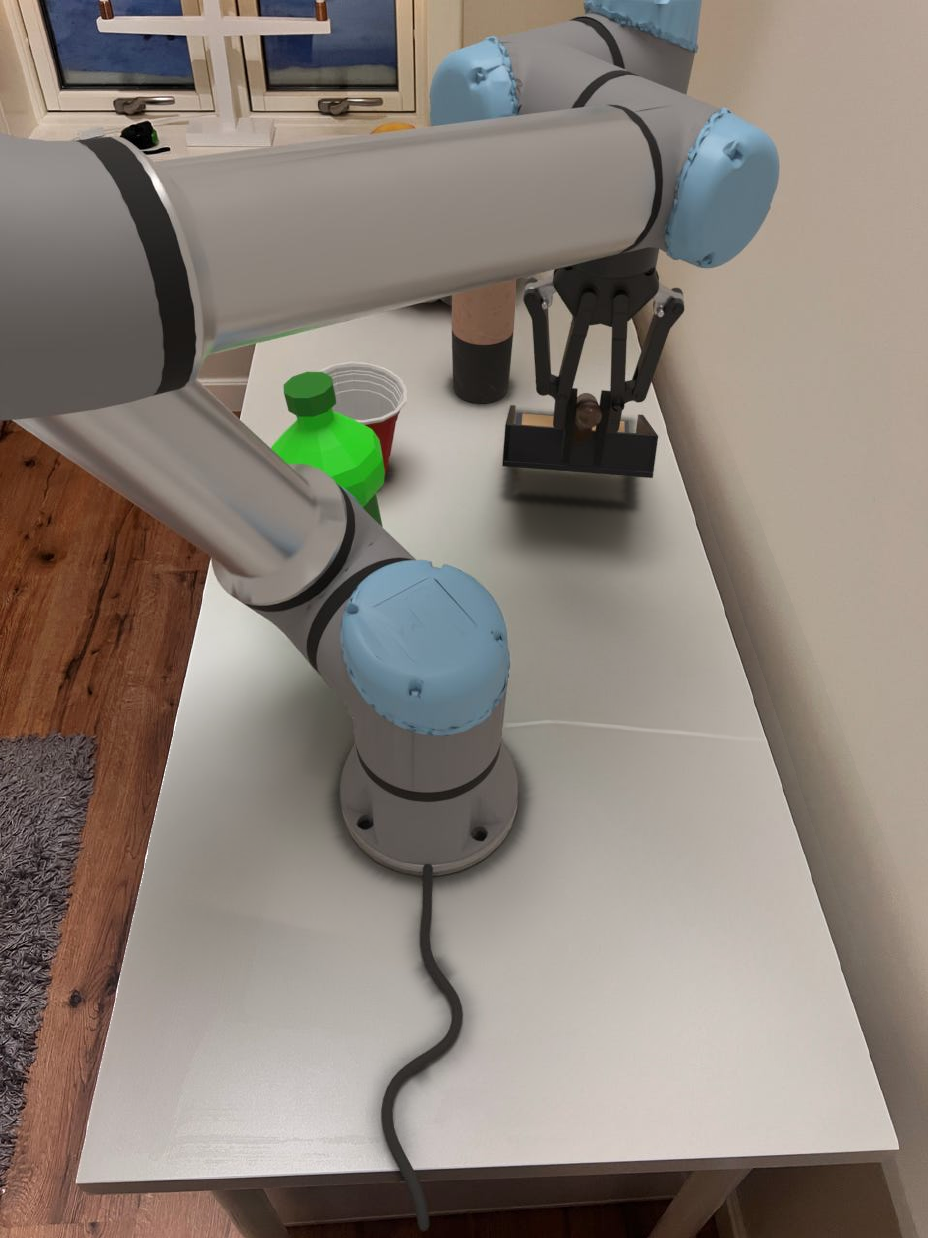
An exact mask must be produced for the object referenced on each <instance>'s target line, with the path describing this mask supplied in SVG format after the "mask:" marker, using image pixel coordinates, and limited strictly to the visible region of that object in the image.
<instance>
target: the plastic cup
mask: <svg viewBox="0 0 928 1238" xmlns="http://www.w3.org/2000/svg"><path fill="white" fill-rule="evenodd" d="M317 372H323V373H325V374H327V375H329V376H331V377H332V381H333V386H334V390H335V395H336V404H335V405H334V406H333V407H332V409H333V411H334V412H337V413H340V414H343V415H345V416H347V417H350V418H352V419H354V420H356V421H357V422H359V423H361V424H363V425H365V426H367V427H369V428H370V429H372V430H373V431H374V433H375V434H376V436H377V437H378V438H379V440H380V446H381V451H382V457H383V464H384V470H385V476H387V474H388V469H389V462H390V458H391V453H392V448H393V441H394V435H395V430H396V425H397V420H398V418H399V415H400V412H401V410H402V408H403V407H404V406H405V405H406V404H407V399H408V398H407V397H408V388H407V386H406V385H405V383H404V381H403V379H402V378H401V377H400V376H399V375H397V374H396V373H395V372H393V371H391V370H390V369H389V368H386V367H384V366H381V365H378V364H374V363H372V362H364V361H363V362H361V361H347V362H340V363H333V364H331V365H329V366H327V367H324V368H321V369H320V370H318V371H317Z"/></svg>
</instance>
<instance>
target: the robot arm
mask: <svg viewBox="0 0 928 1238" xmlns="http://www.w3.org/2000/svg"><path fill="white" fill-rule="evenodd" d="M702 3H703V0H584V1H583V10H584V14H583V15H580V16H579V15H578V16H576V17H573V18H571V19H569V20H567V21H563V22H559V23H555V24H551V25H545V26H541V27H537V28H533V29H528V30H524V31H519V32H515V33H510V34H507V35H502V36H498V37H497V36H495V35H491V36H489V37H488V36H487V37H485V38H484V40H482V41H479V42H477V43H474V44H471V45H468V46H464V47H462V48H459V49H457V50H454V51H451V52H450V53H449V54H448V55H446V56H445V57H443V59H442V60H441V61H440V63H439V64H438V65H437V67H436V69H435V71H434V74H433V76H432V80H431V83H430V88H429V105H430V109H429V110H430V111H429V120H430V126H423V127H415V129H407V130H399V131H391V132H383V133H375V134H370V133H368V134H361V135H353V136H346V137H345V136H344V137H337V138H336V137H335V138H329V139H320V140H313V141H306V142H296V143H289V144H281V145H273V146H266V147H257V148H251V149H242V150H234V151H226V152H217V153H209V154H202V155H194V156H186V157H179V158H178V157H177V158H170V159H161V160H155V161H154V160H153V159H151V158H150V157H149V155H147V154H146V153H144V152H143V151H142V150H141V149H139V148H138V147H137V146H136V145H134V144H133V143H132V142H130V141H129V140H128V139H126V138H124V137H121V136H117V135H114V136H104V137H102V136H101V137H93V138H84V139H75V140H43V139H35V138H28V137H27V138H26V137H19V136H14V135H10V134H6V133H1V132H0V421H13V422H14V423H16V424H17V425H18V426H20V427H22V428H23V429H24V430H25V431H26V432H28V433H30V434H32V435H33V436H35V437H36V438H37V439H38V440H40V441H42V442H43V443H45V444H46V445H47V446H49V448H52V449H54V450H55V451H56V452H57V453H59V454H61V455H62V456H63V457H65V458H66V459H68V460H69V461H71V462H72V463H74V464H75V465H76V466H78V467H79V468H81V469H83V470H84V471H85V472H87V473H88V474H90V475H91V476H93V477H94V478H96V479H97V480H98V481H100V482H101V483H102V484H104V485H106V486H107V487H108V488H110V489H111V490H113V491H114V492H115V493H117V494H118V495H120V496H121V497H123V498H125V499H126V500H127V501H129V502H130V503H132V504H133V505H135V506H136V507H138V508H139V509H141V510H142V511H143V512H145V513H146V514H148V515H149V516H151V517H152V518H153V519H155V520H156V521H158V522H160V523H161V524H162V525H164V526H166V527H167V528H168V529H170V530H171V531H173V532H174V533H176V534H177V535H178V536H180V537H181V538H183V539H184V540H186V541H187V542H189V543H190V544H191V545H193V546H194V547H196V548H198V550H200V551H202V552H203V553H204V554H206V555H207V556H209V557H210V560H211V561H210V562H211V567H212V571H213V573H214V576H215V578H216V580H217V582H218V584H219V585H220V586H221V588H222V589H223V590H224V591H225V592H226V593H227V594H228V595H229V596H231V597H232V598H234V599H235V600H237V601H239V602H240V603H242V604H243V605H244V606H246V607H247V608H249V609H250V610H252V611H254V613H257V614H258V615H260V616H261V617H263V618H264V619H266V620H267V621H269V622H270V623H271V624H273V625H274V626H275V627H276V628H278V630H279V631H280V632H282V633H283V634H284V636H286V637H287V639H288V640H289V641H290V642H291V643H292V644H293V646H294V647H295V648H296V649H297V650H298V651H299V652H300V654H301V655H302V656H303V657H304V658H305V660H306V661H307V662H308V663H309V664H310V665H311V667H312V668H313V670H315V671H316V673H317V674H318V675H319V676H320V678H321V679H322V680H323V681H324V682H325V683H326V685H327V686H328V687H329V688H330V689H331V690H332V692H333V693H334V694H335V695H336V697H338V699H339V700H340V701H341V702H342V703H343V705H344V706H345V708H346V709H347V711H348V713H349V714H350V717H351V719H352V725H353V734H354V740H355V741H354V743H353V744H352V747H351V750H350V751H349V754H348V755H347V757H346V760H345V763H344V766H343V768H342V771H341V775H340V782H339V799H340V806H341V812H342V816H343V820H344V823H345V826H346V828H347V830H348V832H349V834H350V836H351V837H352V839H353V840H354V842H355V843H356V845H358V847H359V848H360V849H361V851H363V852H364V853H365V854H366V855H368V856H369V857H370V858H372V859H373V860H375V861H376V862H377V863H378V864H380V865H382V866H384V867H386V868H389V869H391V870H394V871H397V872H400V873H403V874H407V875H414V876H422V895H421V898H422V901H421V916H420V917H421V918H420V927H419V946H420V953H421V957H422V960H423V963H424V965H425V967H426V969H427V970H428V973H429V974H430V976H431V978H432V979H433V980H434V981H435V983H436V984H437V986H438V987H439V988H440V990H441V991H442V992H443V994H444V995H445V997H446V999H447V1000H448V1002H449V1006H450V1009H451V1022H450V1025H449V1029H448V1031H447V1032H446V1034H445V1035H444V1036H443V1038H442V1039H440V1041H439V1042H437V1043H436V1044H435V1045H434V1046H432V1047H430V1049H428V1050H426V1051H425V1052H423V1053H422V1054H420V1055H418V1056H417V1057H415V1058H414V1059H412V1060H410V1061H409V1062H408V1063H406V1064H405V1065H404V1066H403V1067H401V1068H400V1069H399V1070H398V1072H396V1073H395V1075H394V1076H393V1077H392V1078H391V1080H390V1081H389V1082H388V1085H387V1087H386V1088H385V1092H384V1094H383V1098H382V1103H381V1117H380V1118H381V1127H382V1132H383V1135H384V1139H385V1142H386V1145H387V1147H388V1150H389V1151H390V1153H391V1154H390V1155H391V1156H392V1159H393V1161H394V1163H395V1165H397V1168H398V1170H399V1172H400V1174H401V1176H402V1178H403V1180H404V1181H405V1184H406V1185H407V1186H406V1187H407V1189H408V1191H409V1193H410V1196H411V1199H412V1202H413V1206H414V1210H415V1215H416V1221H417V1226H418V1228H419V1230H420V1231H421V1232H426V1231H428V1230H429V1228H430V1215H429V1210H428V1205H427V1200H426V1197H425V1193H424V1190H423V1188H422V1185H421V1183H420V1181H419V1179H418V1176H417V1174H416V1172H415V1170H414V1168H413V1166H412V1164H411V1162H410V1160H409V1159H408V1156H407V1155H406V1153H405V1151H404V1149H403V1147H402V1145H401V1143H400V1140H399V1138H398V1135H397V1132H396V1128H395V1123H394V1104H395V1100H396V1096H397V1094H398V1091H399V1089H400V1087H401V1085H402V1084H403V1083H405V1082H406V1080H408V1078H409V1077H411V1076H412V1075H413V1074H415V1073H417V1072H418V1071H419V1070H421V1069H422V1068H424V1067H426V1066H427V1065H428V1064H430V1063H432V1062H433V1061H435V1060H436V1059H438V1058H439V1057H440V1056H442V1055H443V1054H444V1053H445V1052H446V1051H448V1050H449V1049H450V1048H451V1046H452V1045H453V1044H454V1043H455V1041H456V1040H457V1038H458V1036H459V1034H460V1032H461V1028H462V1024H463V1016H464V1012H463V1005H462V1003H461V1000H460V997H459V995H458V993H457V991H456V990H455V988H454V987H453V985H452V984H451V983H450V981H449V980H448V978H447V977H446V976H445V974H444V973H443V972H442V970H441V969H440V967H439V965H438V964H437V962H436V960H435V957H434V954H433V951H432V945H431V926H432V916H433V881H434V879H433V876H434V877H435V876H442V875H443V876H444V875H448V874H449V875H450V874H453V873H457V872H460V871H463V870H466V869H468V868H470V867H472V866H474V865H476V864H478V863H480V862H481V861H483V860H484V859H485V858H487V857H488V856H490V855H491V854H492V853H493V852H494V851H496V849H497V848H498V847H500V845H501V844H502V843H503V841H504V840H505V839H506V837H507V835H508V834H509V832H510V830H511V828H512V826H513V823H514V821H515V818H516V813H517V811H518V810H517V809H518V801H519V794H520V793H519V788H520V786H519V785H520V783H519V776H518V772H517V771H518V770H517V768H516V765H515V762H514V760H513V758H512V755H511V753H510V751H509V750H508V747H507V746H506V744H505V741H504V740H503V738H502V734H503V726H504V716H505V708H506V698H507V689H508V682H509V677H510V669H511V653H510V650H509V642H508V641H509V640H508V630H507V625H506V621H505V617H504V615H503V613H502V611H501V608H500V606H499V604H498V603H497V601H496V599H495V598H494V596H493V595H492V594H491V593H490V591H489V590H487V588H486V587H485V586H484V585H483V584H482V583H481V582H479V580H477V579H476V578H475V577H473V576H472V575H471V574H469V573H467V572H465V571H464V570H462V569H460V568H458V567H455V566H453V565H450V564H446V563H444V564H443V565H442V566H441V567H437V566H436V567H435V566H433V562H432V561H431V560H426V559H417V558H415V557H414V556H413V555H412V554H411V553H410V552H409V551H408V550H407V549H406V548H405V547H403V545H402V544H400V542H399V541H397V539H396V538H394V537H393V535H391V534H390V533H389V532H388V531H387V530H386V529H385V528H384V526H383V527H382V526H381V525H379V524H378V523H377V522H376V521H375V520H374V519H373V518H372V517H371V516H370V515H369V514H368V513H367V512H366V511H365V510H364V508H363V507H362V506H361V505H360V503H359V502H358V501H357V500H356V499H355V497H354V496H353V495H351V494H350V493H349V492H348V491H347V490H346V489H344V488H343V487H341V486H340V485H338V484H337V483H336V482H335V481H334V480H333V479H332V478H331V477H330V476H329V475H328V474H326V473H325V472H323V471H321V470H320V469H318V468H315V467H313V466H310V465H306V464H287V463H286V462H285V461H284V460H283V459H282V458H280V457H279V456H278V455H277V454H276V453H275V452H274V451H273V450H272V449H271V447H270V446H269V445H268V444H267V443H266V442H265V441H264V440H263V439H261V437H259V436H258V435H257V434H256V433H255V432H254V431H253V430H252V429H251V428H249V426H248V425H246V424H245V423H244V422H243V421H242V420H241V419H240V418H239V417H238V416H237V415H236V414H235V413H234V412H232V411H231V410H230V409H229V408H228V407H227V406H226V405H225V404H224V403H223V402H222V401H221V400H220V399H218V397H217V396H216V395H215V394H213V393H212V392H211V391H210V390H209V389H208V388H207V387H206V386H204V385H203V383H202V382H201V381H200V380H198V379H197V378H198V375H199V373H200V371H201V368H202V366H203V364H204V362H205V360H206V358H207V357H208V356H212V355H215V354H219V353H223V352H227V351H233V350H236V349H240V348H244V347H247V346H252V345H256V344H260V343H264V342H268V341H272V340H277V339H280V338H281V339H282V338H284V337H289V336H293V335H297V334H300V333H304V332H308V331H309V332H310V331H313V330H317V329H320V328H324V327H325V328H326V327H329V326H332V325H333V326H334V325H337V324H341V323H345V322H349V321H353V320H356V319H361V318H365V317H370V316H372V315H373V316H374V315H378V314H381V313H385V312H389V311H393V310H398V309H403V308H406V307H410V306H413V305H417V304H421V303H427V302H426V301H430V300H434V299H438V298H442V297H446V296H450V295H454V294H458V293H462V292H466V291H470V290H474V289H478V288H482V287H486V286H490V285H494V284H498V283H502V282H506V281H510V280H514V279H516V280H518V279H522V278H526V277H530V276H535V275H538V274H539V275H540V274H542V273H543V274H544V273H547V272H550V271H553V273H552V275H550V276H548V277H545V278H543V279H540V280H538V279H537V278H535V277H531V278H528V279H526V281H525V284H524V290H523V304H524V306H525V309H526V310H527V313H528V314H529V316H530V318H531V325H532V326H531V327H532V342H533V343H532V344H533V356H534V358H533V359H534V373H535V374H534V375H535V389H536V393H537V394H538V395H539V396H542V397H544V396H550V397H551V398H553V400H554V406H553V407H554V409H553V415H554V416H553V426H554V429H559V430H564V436H563V444H562V461H561V464H569V463H570V456H571V448H572V440H573V433H574V425H575V417H576V410H577V397H578V391H579V390H578V388H576V387H574V384H575V381H576V377H577V372H578V368H579V364H580V361H581V357H582V353H583V348H584V345H585V341H586V338H587V336H588V333H589V329H590V326H595V325H603V326H606V327H609V328H611V347H610V386H609V387H610V388H609V390H605V389H602V390H601V392H600V397H599V398H600V399H599V403H598V404H599V406H600V409H601V412H602V418H601V421H600V422H599V424H598V425H596V431H595V438H594V444H593V466H600V467H601V462H602V456H603V449H604V443H605V437H606V433H615V434H616V433H617V431H618V430H619V426H620V420H621V419H622V414H623V411H624V409H625V405H626V404H627V403H629V402H634V403H643V402H644V401H645V400H646V399H647V396H648V393H649V390H650V388H651V385H652V382H653V379H654V375H655V373H656V370H657V367H658V364H659V362H660V358H661V356H662V354H663V351H664V347H665V345H666V342H667V338H668V335H669V333H670V330H671V329H672V327H674V325H675V324H676V322H677V321H678V320H679V319H680V317H682V315H683V314H684V312H685V301H684V300H685V299H684V292H683V290H682V289H681V288H680V287H672V288H671V289H670V288H669V287H667V286H665V285H664V284H662V283H661V282H660V277H659V273H658V271H657V265H658V259H659V254H660V253H659V252H660V251H662V252H664V253H665V254H666V256H668V257H669V258H670V259H672V261H673V260H674V261H679V260H680V261H682V262H685V263H687V264H689V265H692V266H694V267H697V268H700V269H713V268H714V269H715V268H718V267H721V266H723V265H725V264H727V263H728V262H730V261H731V260H733V259H734V258H735V257H736V256H738V255H739V254H740V253H742V251H743V250H744V249H745V248H746V247H747V246H748V245H749V244H750V243H751V242H752V241H753V240H754V238H755V236H756V235H757V233H758V232H759V230H760V229H761V227H762V226H763V224H764V222H765V221H766V218H767V217H768V214H769V212H770V210H771V206H772V202H773V199H774V197H775V193H776V191H777V188H778V186H779V180H780V168H781V167H780V166H781V165H780V156H779V151H778V148H777V146H776V144H775V142H774V140H773V139H772V137H771V135H769V134H768V133H767V132H765V131H764V130H763V129H761V128H760V127H757V126H756V125H754V124H752V123H750V122H749V121H747V120H745V119H743V118H741V117H739V116H738V115H736V114H735V113H734V112H733V111H731V110H730V109H729V108H727V107H721V108H720V107H717V106H715V105H712V104H710V103H707V102H705V101H703V100H701V99H697V98H695V97H693V96H690V95H688V89H689V84H690V79H691V74H692V69H693V65H694V61H695V55H696V54H697V53H698V50H699V45H698V36H699V26H700V17H701V11H702ZM556 293H557V295H558V296H559V298H560V299H561V300H562V302H563V304H564V305H565V307H566V309H567V310H568V311H569V313H570V315H571V316H572V317H571V322H570V326H569V330H568V333H567V334H568V335H567V340H566V343H565V346H564V351H563V355H562V359H561V363H560V367H559V368H560V369H559V372H558V375H555V374H552V364H551V361H552V360H551V342H550V340H551V339H550V323H549V322H550V320H549V318H550V317H549V308H550V307H551V306H552V305H553V299H554V294H556ZM438 300H439V299H438ZM651 300H653V302H652V311H653V315H652V318H651V321H650V324H649V326H648V330H647V333H646V336H645V339H644V342H643V345H642V348H641V350H640V354H639V357H638V360H637V363H636V366H635V369H634V372H633V374H632V378H631V379H630V380H626V371H627V369H626V368H627V344H628V343H627V341H628V322H630V321H631V320H632V319H633V318H634V317H635V316H636V315H637V314H638V313H639V312H640V311H641V310H642V309H643V308H645V306H646V305H647V304H648V303H649V302H650V301H651Z"/></svg>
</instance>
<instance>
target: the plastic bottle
mask: <svg viewBox="0 0 928 1238" xmlns="http://www.w3.org/2000/svg"><path fill="white" fill-rule="evenodd" d="M283 395H284V400H285V402H286V406H287V410H288V412H289V413H290V414H293V415H294V416H296V420H295V421H294V422H293V423H292V424H291V425H290V426H289V427H288V428H286V429H285V431H284V432H283V433H282V434H281V435H280V436H279V437H278V438H277V440H276V441H274V443H273V444H272V445H271V447H270V448H271V449H272V450H273V451H274V452H275V453H276V454H277V455H278V456H279V457H280V458H282V459H283V460H284V461H285V462H286V463H287V464H306V465H310V466H313V467H315V468H318V469H320V470H321V471H323V472H325V473H326V474H328V475H329V476H330V477H331V478H332V479H333V480H334V481H335V482H336V483H337V484H338V485H340V486H341V487H343V488H344V489H346V490H347V491H348V492H349V493H350V494H351V495H353V496H354V497H355V499H356V500H357V501H358V502H359V503H360V505H361V506H362V507H363V508H364V510H365V511H366V512H367V513H368V514H369V515H370V516H371V517H372V518H373V519H374V520H375V521H376V522H377V523H378V524H379V525H381V526H382V527H383V528H384V526H383V521H382V516H381V512H380V511H381V510H380V506H379V501H378V497H377V493H378V491H380V489H382V487H383V486H384V485H385V477H386V475H385V470H384V464H383V457H382V451H381V446H380V440H379V438H378V437H377V436H376V434H375V433H374V431H373V430H372V429H370V428H369V427H367V426H365V425H363V424H361V423H359V422H357V421H356V420H354V419H352V418H350V417H347V416H345V415H343V414H340V413H337V412H334V411H333V409H332V407H333V406H334V405H335V404H336V395H335V390H334V386H333V381H332V377H331V376H329V375H327V374H325V373H323V372H318V371H305V372H302V373H299V374H296V375H292V376H291V377H290V378H289V379H288V380H286V381H285V383H283Z"/></svg>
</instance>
